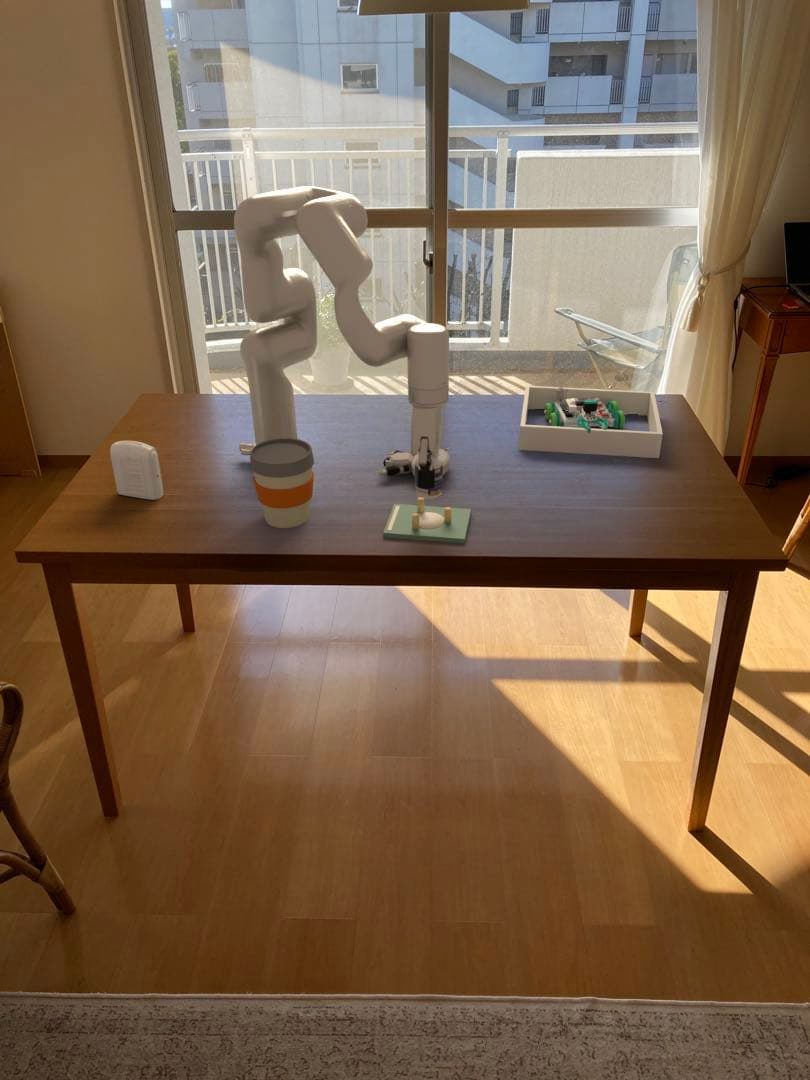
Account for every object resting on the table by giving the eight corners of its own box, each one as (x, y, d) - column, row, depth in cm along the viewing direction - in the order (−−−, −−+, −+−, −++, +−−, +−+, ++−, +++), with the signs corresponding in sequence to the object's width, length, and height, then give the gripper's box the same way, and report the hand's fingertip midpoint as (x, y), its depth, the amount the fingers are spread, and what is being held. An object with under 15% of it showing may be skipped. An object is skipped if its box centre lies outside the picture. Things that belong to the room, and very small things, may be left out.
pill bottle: (433, 502, 168) (433, 456, 163) (410, 495, 171) (409, 450, 166) (447, 490, 172) (448, 445, 167) (424, 484, 175) (423, 440, 170)
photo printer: (167, 493, 189) (158, 440, 182) (157, 502, 185) (147, 449, 179) (126, 487, 191) (115, 435, 185) (114, 495, 188) (104, 443, 181)
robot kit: (560, 454, 202) (563, 416, 197) (540, 412, 224) (542, 377, 219) (639, 451, 203) (644, 413, 198) (612, 409, 224) (616, 375, 220)
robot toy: (378, 486, 192) (445, 487, 189) (376, 467, 190) (444, 468, 187) (390, 462, 202) (454, 463, 199) (388, 444, 200) (453, 445, 197)
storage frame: (518, 449, 205) (520, 426, 202) (524, 407, 227) (525, 385, 224) (659, 458, 200) (662, 434, 197) (650, 414, 222) (654, 391, 219)
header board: (383, 537, 171) (382, 519, 169) (394, 507, 182) (393, 490, 180) (464, 543, 169) (465, 525, 167) (470, 513, 179) (471, 496, 177)
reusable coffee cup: (304, 536, 172) (299, 467, 164) (246, 528, 175) (238, 460, 167) (326, 506, 182) (322, 440, 175) (271, 499, 185) (264, 434, 178)
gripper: (415, 375, 169) (416, 460, 178) (400, 409, 154) (402, 499, 163) (454, 377, 168) (453, 462, 177) (442, 411, 153) (442, 502, 162)
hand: (428, 479), depth 170 cm, fingers closed on pill bottle, 5 cm apart
